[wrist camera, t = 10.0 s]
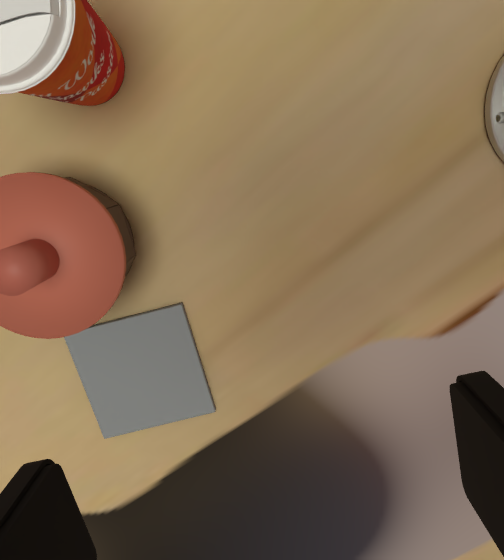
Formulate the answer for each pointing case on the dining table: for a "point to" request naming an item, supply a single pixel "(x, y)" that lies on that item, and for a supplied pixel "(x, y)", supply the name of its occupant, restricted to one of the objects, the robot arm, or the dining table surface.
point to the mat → (141, 371)
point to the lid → (56, 256)
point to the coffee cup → (58, 52)
